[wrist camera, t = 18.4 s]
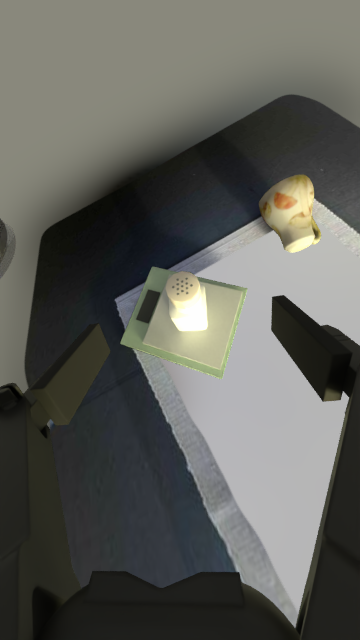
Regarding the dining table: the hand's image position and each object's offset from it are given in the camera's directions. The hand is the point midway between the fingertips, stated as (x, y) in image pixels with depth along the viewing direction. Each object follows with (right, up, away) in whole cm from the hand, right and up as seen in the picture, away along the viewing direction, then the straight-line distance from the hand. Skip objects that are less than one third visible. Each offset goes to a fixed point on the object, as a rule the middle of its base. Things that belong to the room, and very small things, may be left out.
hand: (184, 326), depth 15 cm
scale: (0, 0, +15) cm, 15 cm away
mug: (+17, +15, +17) cm, 28 cm away
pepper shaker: (+1, +1, +12) cm, 12 cm away
